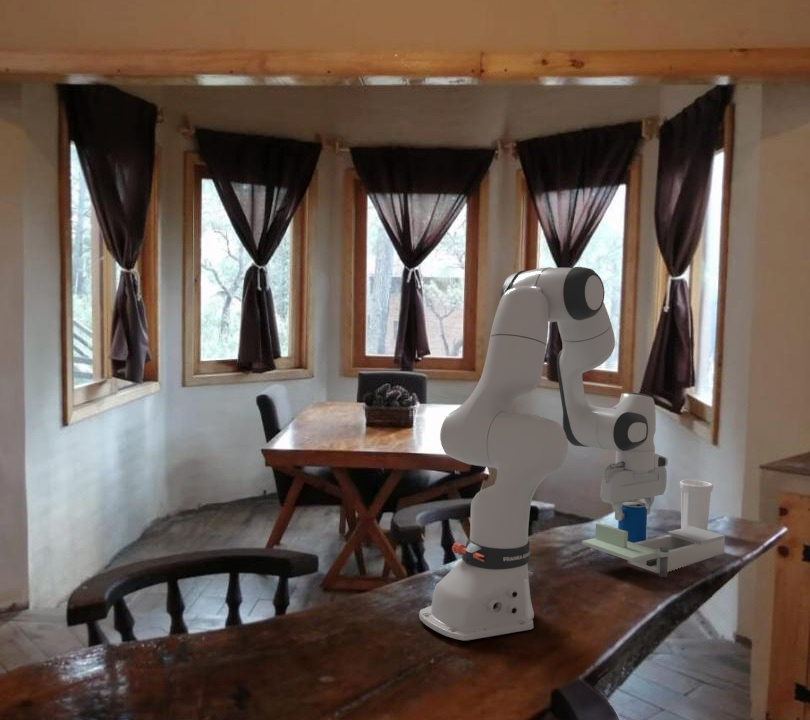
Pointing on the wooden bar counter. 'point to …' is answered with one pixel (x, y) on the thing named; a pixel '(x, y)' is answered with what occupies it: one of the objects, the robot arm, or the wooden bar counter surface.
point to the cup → (695, 503)
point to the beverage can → (634, 520)
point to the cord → (651, 562)
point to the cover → (621, 544)
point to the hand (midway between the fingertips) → (632, 517)
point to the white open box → (682, 549)
